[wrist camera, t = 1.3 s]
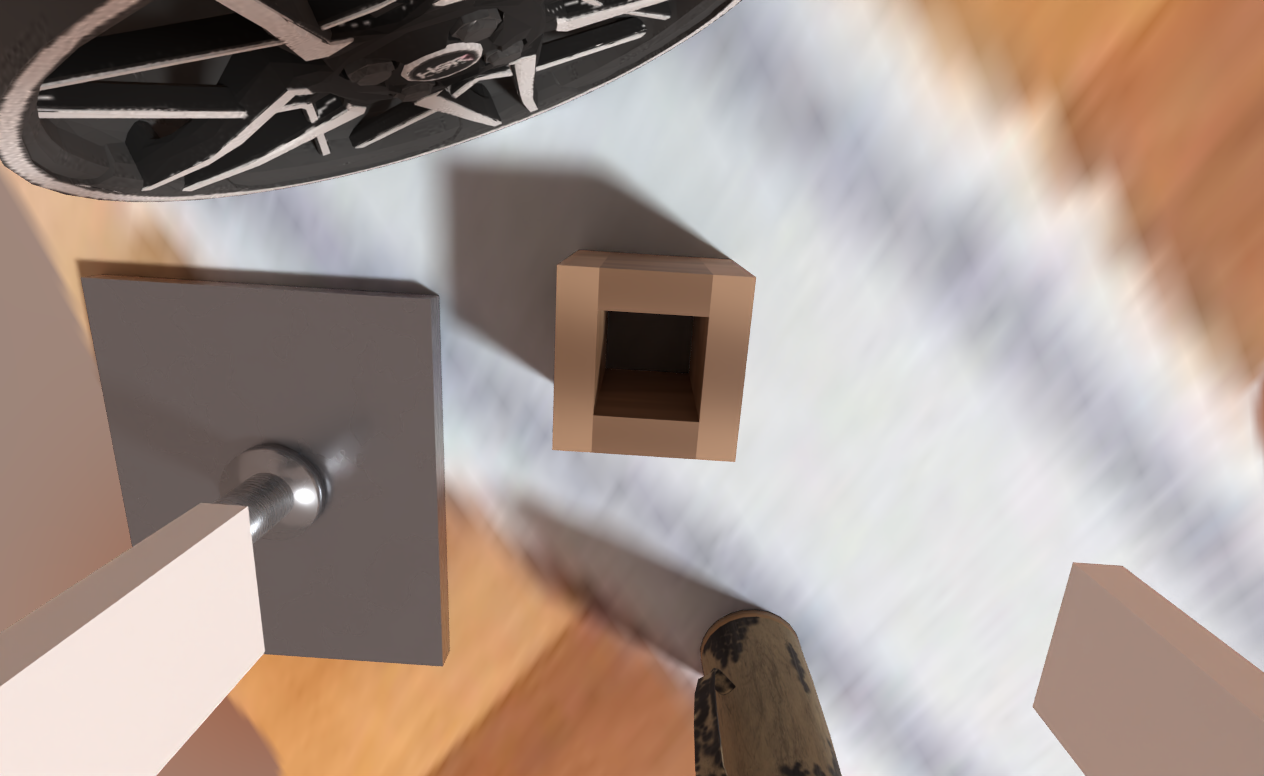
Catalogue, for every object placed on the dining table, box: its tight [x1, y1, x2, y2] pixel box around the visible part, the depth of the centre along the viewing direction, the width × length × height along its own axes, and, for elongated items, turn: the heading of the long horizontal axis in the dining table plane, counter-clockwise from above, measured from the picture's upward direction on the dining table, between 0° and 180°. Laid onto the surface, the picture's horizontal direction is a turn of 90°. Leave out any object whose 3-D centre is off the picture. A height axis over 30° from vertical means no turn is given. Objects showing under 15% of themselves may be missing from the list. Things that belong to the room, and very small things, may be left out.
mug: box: [694, 610, 842, 776], centre depth 29 cm, size 8×6×12 cm
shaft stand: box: [81, 274, 450, 666], centre depth 27 cm, size 20×16×11 cm
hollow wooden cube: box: [552, 250, 756, 462], centre depth 26 cm, size 7×7×7 cm
